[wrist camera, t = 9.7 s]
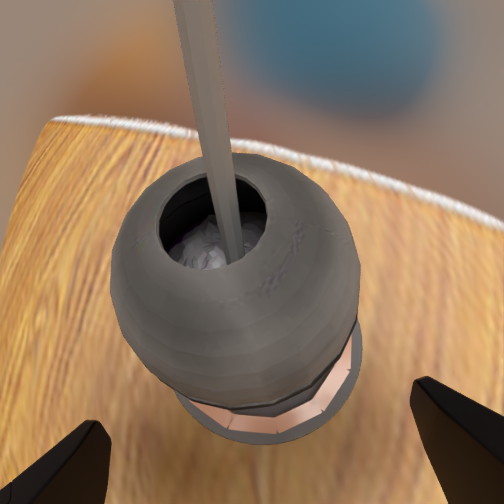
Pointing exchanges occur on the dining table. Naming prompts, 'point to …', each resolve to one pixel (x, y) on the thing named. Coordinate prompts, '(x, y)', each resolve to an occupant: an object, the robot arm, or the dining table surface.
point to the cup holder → (287, 406)
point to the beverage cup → (233, 261)
